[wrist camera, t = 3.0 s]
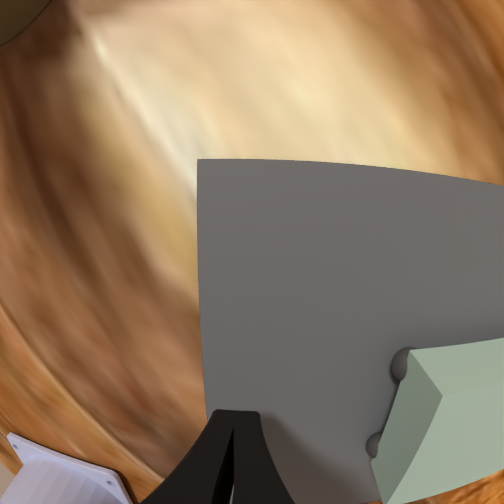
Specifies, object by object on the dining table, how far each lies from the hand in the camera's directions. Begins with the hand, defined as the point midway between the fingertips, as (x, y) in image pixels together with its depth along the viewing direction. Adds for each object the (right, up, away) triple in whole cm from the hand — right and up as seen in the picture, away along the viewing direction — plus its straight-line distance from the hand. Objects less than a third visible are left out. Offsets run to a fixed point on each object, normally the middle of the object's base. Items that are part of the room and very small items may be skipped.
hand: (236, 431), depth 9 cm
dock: (+13, 0, +1) cm, 13 cm away
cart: (+8, 0, +1) cm, 8 cm away
